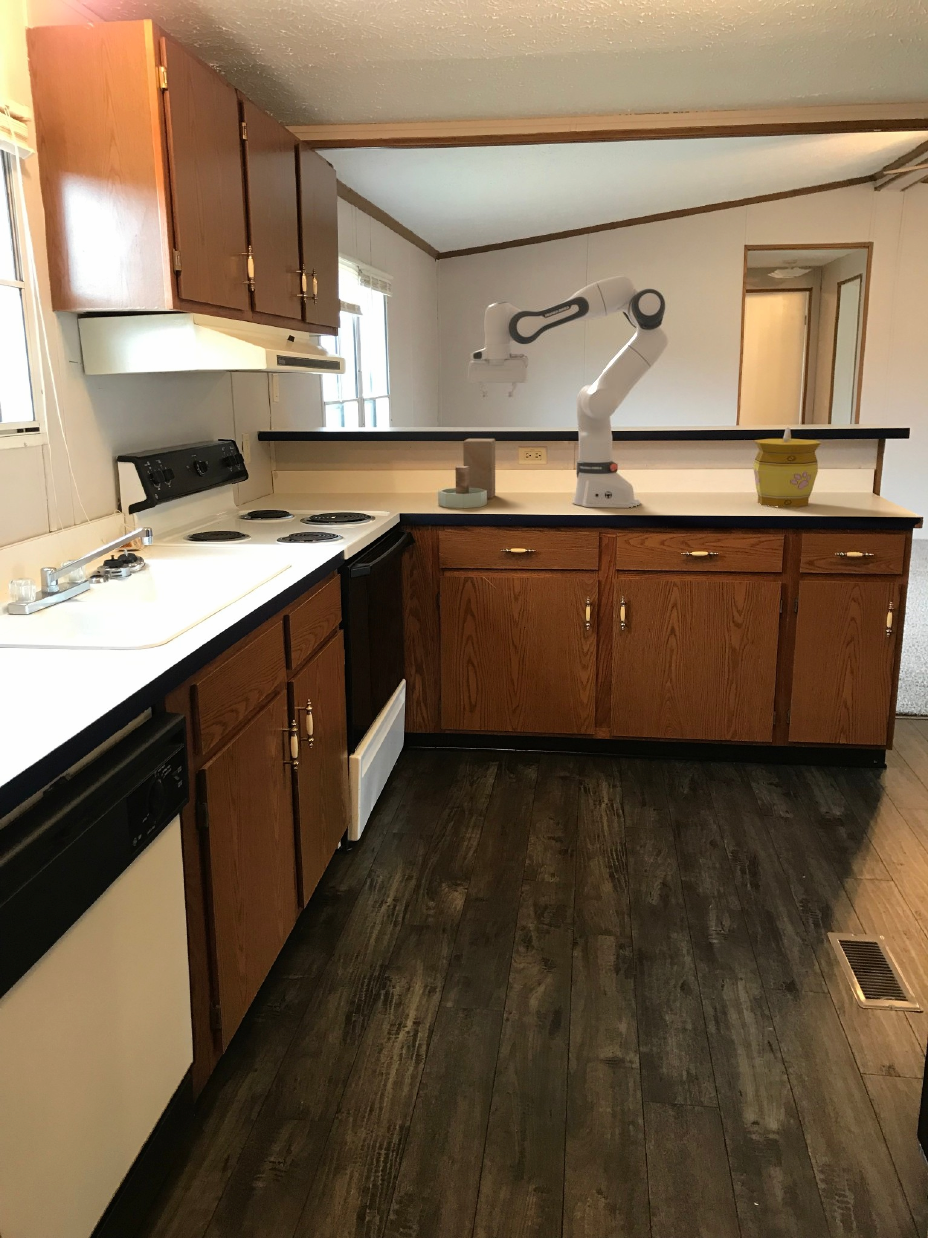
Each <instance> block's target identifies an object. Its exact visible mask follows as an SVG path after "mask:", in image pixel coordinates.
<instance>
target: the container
mask: <svg viewBox="0 0 928 1238" xmlns="http://www.w3.org/2000/svg"><path fill="white" fill-rule="evenodd" d="M754 442H755V444H756V447H757V448H758V452H757V454H756V456H755V459H754V464H753V467H752V468H753V475H754V479H755V480H754V481H755V488H756V493H757V503H758V504H759V503H760V504H761V505H769V506H778V507H796V509H798V508H803V506H804V507H807V506H809V500H810V499H809V498H810V496H811V494H812V492H813V488H814V485H815V481H816V478H817V476H818V472H819V469H818V468H819V467H818V464H819V463H818V459H817V456H816V455H817V454H816V451H817V449H818V448H819V446H820V445H821V444H822V442H821V441H818V440H816V439H815V440H814V439H800V438H792V434H791V428H790V427H786V428H785V430H784V435H783V437H782V438H765V439H755V440H754ZM760 504H759V505H760ZM761 505H760V506H761ZM769 506H768V507H769Z"/></svg>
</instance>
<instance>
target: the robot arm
mask: <svg viewBox="0 0 928 1238" xmlns="http://www.w3.org/2000/svg"><path fill="white" fill-rule="evenodd" d="M665 311H666V300H665V298H664V295H663V294H662V293H661V292H660V291H659V290H658V289H654V288H645V289H642V290H640V291H638V290H636V288H635V285H634V283H633V281H632V280H631V278H629V277H628V276H626V275H618V276H617V275H616V276H612V277H607V278H603V279H601V280H598V281H595V282H592V283H590V284H588V285H586V286H585V287H582V288H580V289H579V290H578V291H576V292H574V294H572V295H571V296H570V297H569V298H568V299H566V300H564V301H562V302H560V303H557V304H554V305H552V306H550V307H547V308H544V309H541V310H538V311H533V310H532V311H531V310H521V309H519V308H518V307H516V306H513V305H512V304H511V303H509V302H508V301H500V302H495V303H492V304H489V305H488V307H486V309H485V312H484V326H483V329H484V335H485V338H484V339H485V340H484V346H483V347H484V348H483V349H479V350H477V351H473V352H471V353H470V354H469V355H470V356H469V357H470V359H471V360H470V361H469V363H468V367H467V381H468V382H469V383H470V384H472V383H473V384H474V383H476V384H477V388H478V389H479V391H480V392H481V395H480V396H481V398H487V397H488V391H486V390H485V388H484V386H485V384H491V383H492V384H493V383H494V384H499V383H500V384H503V383H504V384H511V387H512V388H511V389H510V391H508V398H514V397H515V392H516V390H517V388H518V384H525V383H527V382H528V381H529V372H528V371H529V369H528V366H529V358H528V356H527V355H525V354H524V353H512V342H513V341H514V342H516V343H518V344H520V345H528V344H531V343H533V342H535V341H536V340H537V339H538V338H539V337H540V336H541V335H542V334H543V333H544V332H546V331H548V330H551V329H553V328H556V327H559V326H561V325H564V324H566V323H570V322H578V321H579V322H589V321H594V320H598V319H601V318H604V317H606V316H610V315H612V314H615V313H618V312H622V314H623V315H624V317H625V318H626V319H627V321H628V322H629V324H630V325H631V326H632V327H634V329H636V330H635V333H634V334H633V336H632V337H631V339H630V340H629V341H628V342H626V344H624V346H623V347H622V348H621V349H620V351H618V353H616V355H615V356H614V357H613V358H612V359H611V360H610V361H609V362H608V364H607V366H606V367H605V368H604V370H603V371H602V373H600V375H599V377H598V378H597V379H596V380H595V382H593V383H590V384H586V385H585V386H583V387H582V388H581V389H580V391H579V392H578V394H577V397H576V418H577V430H578V432H577V433H578V456H577V457H578V459H577V461H576V467H575V468H576V473H575V474H576V479H577V480H576V486H575V493H574V497H573V500H572V504H575V505H578V506H583V507H584V508H617V509H618V508H625V509H626V508H627V509H628V508H629V507H631V508H634V507H633V506H636V507H638V506H637V505H639V504H640V503H641V500H640V499H638V498H635V493H634V492H635V491H634V487H633V485H632V483H630V482H629V481H628V480H626V479H625V478H624V477H623V476H622V475H620V474H619V473H618V467H619V464H618V462H617V463H616V462H615V461H613V458H612V457H613V456H612V455H613V434H612V426H611V425H612V424H611V416H612V415H613V414H614V413H615V412H616V411H617V409H618V408H619V406H620V405H621V404H622V403H623V402H624V400H625V399H626V398H627V396H628V395H629V393H630V392H631V390H633V388H635V386H636V385H637V384H638V383H639V381H640V380H641V379H642V378H643V377H644V376H645V374H646V373H647V372H649V370H650V369H651V368H652V367H653V366H654V364H655V363H656V362H657V361H658V359H660V357H661V356H662V354H663V353H664V351H665V349H666V348H667V346H668V343H669V340H668V337H667V334H666V332H665V331H664V330H663V329H662V328H661V325H662V323H663V319H664V315H665ZM640 505H641V504H640ZM640 505H639V506H640Z"/></svg>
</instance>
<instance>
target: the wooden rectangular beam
mask: <svg viewBox="0 0 928 1238" xmlns="http://www.w3.org/2000/svg"><path fill="white" fill-rule="evenodd" d="M455 488H456V494H468V493H469V466H463V465H462V466H461V465H459V466H455Z"/></svg>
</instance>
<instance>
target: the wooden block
mask: <svg viewBox="0 0 928 1238" xmlns="http://www.w3.org/2000/svg"><path fill="white" fill-rule="evenodd" d="M462 447H463V448H462V449H463V450H462V452H463V456H462V458H463V461H462V462H463V464H462V466H469V488H480V489H484V490H487V500H492V499H493V498H494V497H495V496H496V439H495V438H467V439H465V440H464V441H463V443H462Z"/></svg>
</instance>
